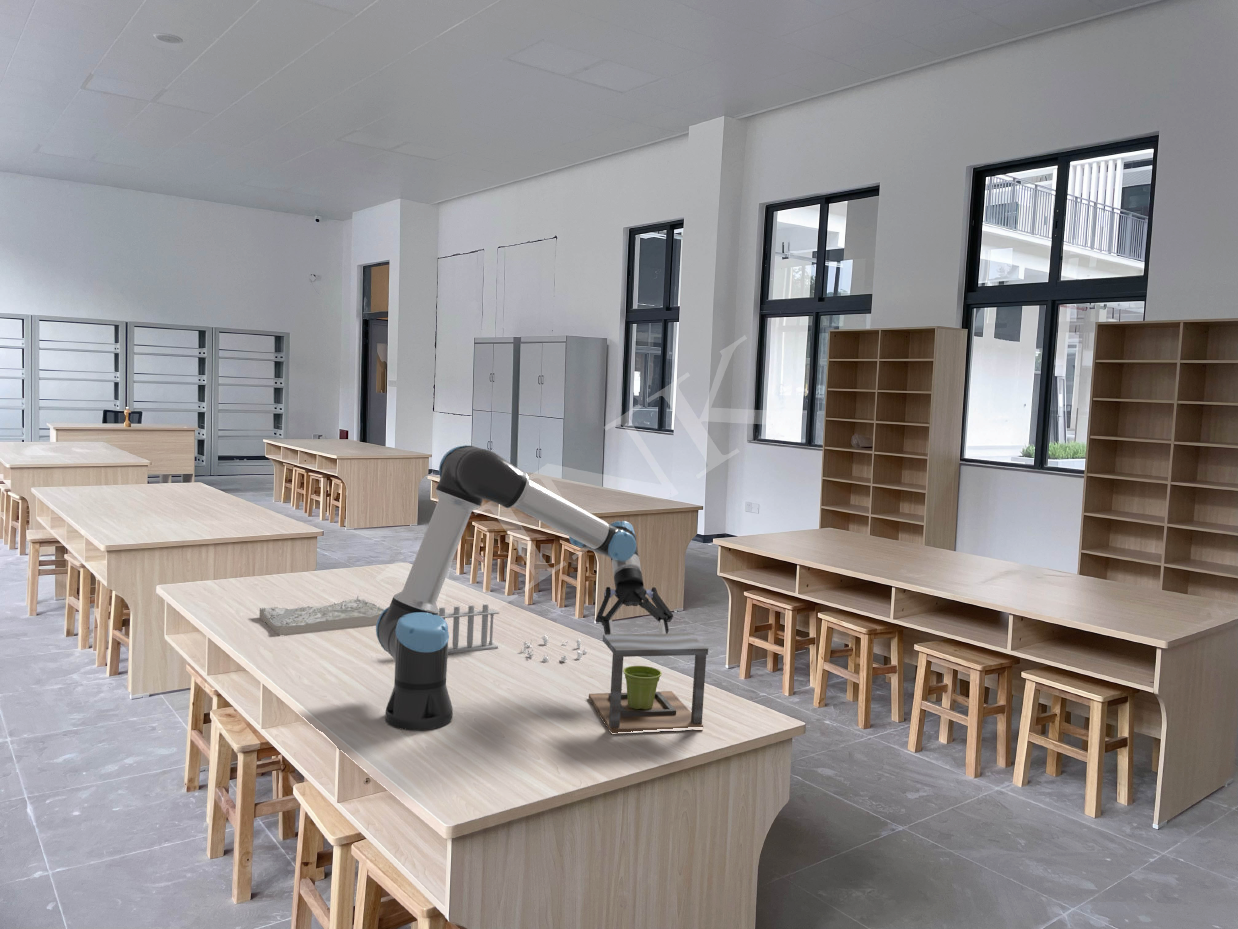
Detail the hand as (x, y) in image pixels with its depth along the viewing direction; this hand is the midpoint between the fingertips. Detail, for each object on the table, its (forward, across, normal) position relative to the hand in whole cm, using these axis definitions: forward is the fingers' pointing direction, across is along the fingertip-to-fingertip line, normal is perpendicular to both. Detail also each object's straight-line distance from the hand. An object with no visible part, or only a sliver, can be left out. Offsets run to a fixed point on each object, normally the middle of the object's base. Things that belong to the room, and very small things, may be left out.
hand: (639, 645), depth 222 cm
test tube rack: (-22, +42, -44) cm, 65 cm away
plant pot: (+14, +1, -5) cm, 15 cm away
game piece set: (-20, +13, -41) cm, 47 cm away
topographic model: (-47, +81, -69) cm, 116 cm away
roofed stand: (+16, 0, -4) cm, 17 cm away
